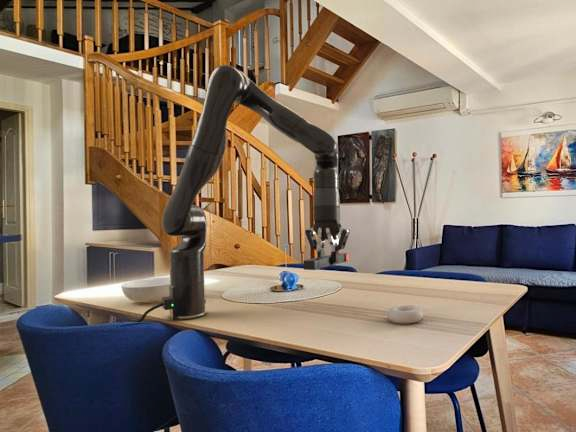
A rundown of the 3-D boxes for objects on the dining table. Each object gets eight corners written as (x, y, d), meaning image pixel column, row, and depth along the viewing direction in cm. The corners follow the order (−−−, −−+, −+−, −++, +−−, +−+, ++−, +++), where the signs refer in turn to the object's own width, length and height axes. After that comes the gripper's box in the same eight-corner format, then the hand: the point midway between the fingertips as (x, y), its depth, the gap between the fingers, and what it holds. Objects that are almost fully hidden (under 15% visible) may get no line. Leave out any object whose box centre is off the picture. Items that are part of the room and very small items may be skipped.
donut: (418, 326, 108) (426, 316, 118) (417, 313, 108) (426, 304, 118) (381, 324, 112) (393, 314, 121) (381, 311, 111) (392, 302, 121)
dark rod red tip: (316, 270, 110) (315, 260, 110) (302, 269, 111) (302, 260, 111) (349, 260, 128) (349, 252, 128) (337, 260, 129) (337, 252, 129)
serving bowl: (149, 294, 161) (149, 276, 161) (200, 294, 158) (200, 276, 158) (106, 306, 140) (106, 286, 140) (164, 307, 137) (163, 286, 137)
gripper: (298, 204, 119) (299, 265, 119) (342, 203, 113) (344, 266, 114) (312, 205, 125) (313, 262, 126) (354, 203, 120) (356, 263, 121)
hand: (328, 264), depth 120 cm, fingers closed on dark rod red tip, 3 cm apart
